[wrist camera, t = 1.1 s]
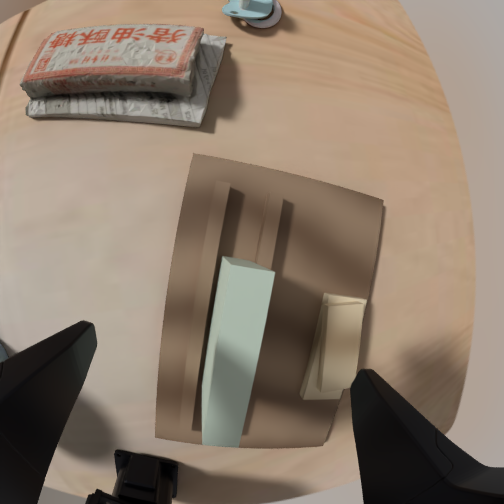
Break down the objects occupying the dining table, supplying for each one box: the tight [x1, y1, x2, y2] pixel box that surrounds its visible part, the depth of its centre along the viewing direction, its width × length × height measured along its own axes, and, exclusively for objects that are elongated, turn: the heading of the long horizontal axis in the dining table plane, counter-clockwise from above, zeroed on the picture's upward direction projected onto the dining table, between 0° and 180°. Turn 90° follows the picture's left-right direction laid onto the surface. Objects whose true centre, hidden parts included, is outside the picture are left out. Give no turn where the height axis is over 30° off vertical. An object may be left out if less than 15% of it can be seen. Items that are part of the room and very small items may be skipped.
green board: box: [202, 256, 275, 448], centre depth 17 cm, size 10×2×8 cm, turn 170°
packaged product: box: [20, 24, 227, 127], centre depth 17 cm, size 18×5×10 cm
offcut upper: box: [317, 301, 364, 393], centre depth 20 cm, size 7×3×1 cm, turn 0°
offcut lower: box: [300, 293, 367, 400], centre depth 21 cm, size 9×4×1 cm, turn 170°
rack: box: [155, 153, 383, 448], centre depth 21 cm, size 24×16×2 cm, turn 170°
